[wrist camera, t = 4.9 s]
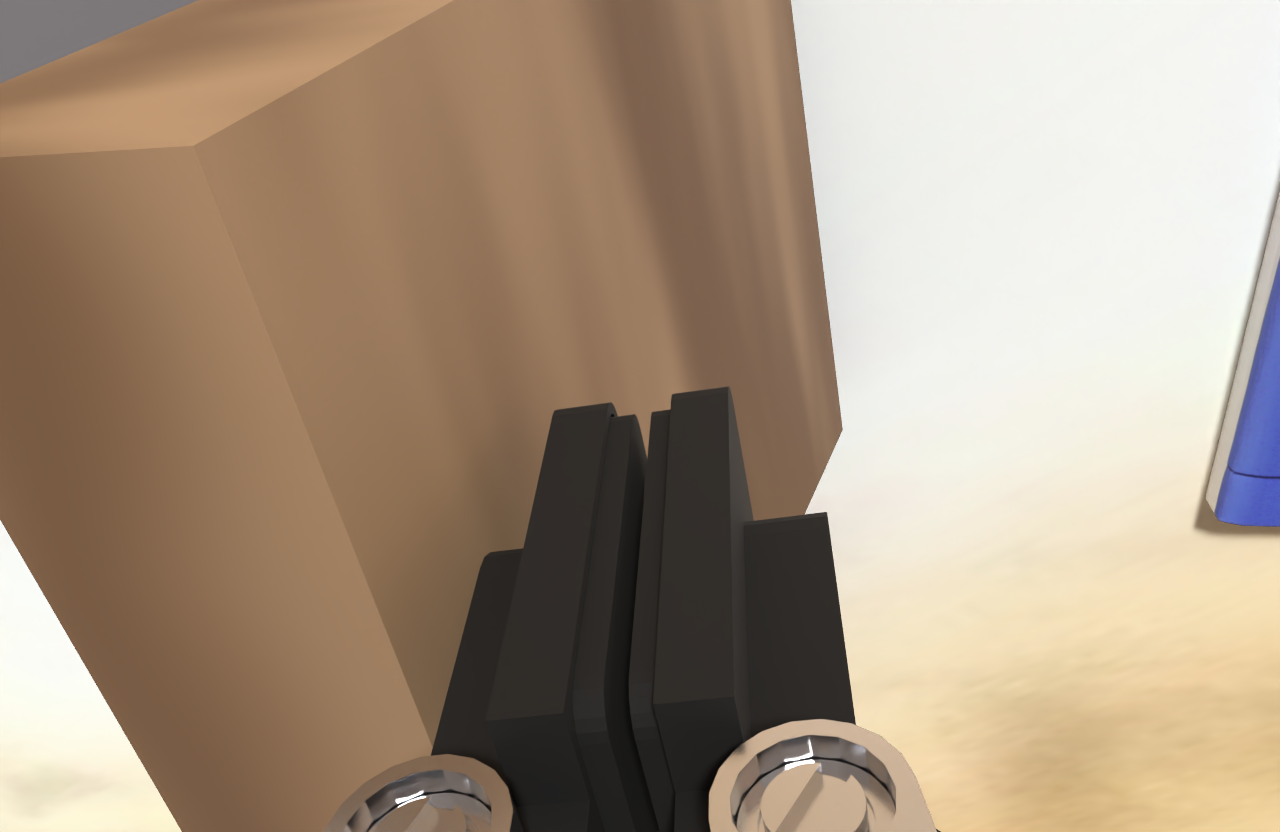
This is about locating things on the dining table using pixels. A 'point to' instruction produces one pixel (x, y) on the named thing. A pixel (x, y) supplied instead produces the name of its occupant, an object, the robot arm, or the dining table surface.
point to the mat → (66, 27)
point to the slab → (372, 340)
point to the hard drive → (1254, 410)
